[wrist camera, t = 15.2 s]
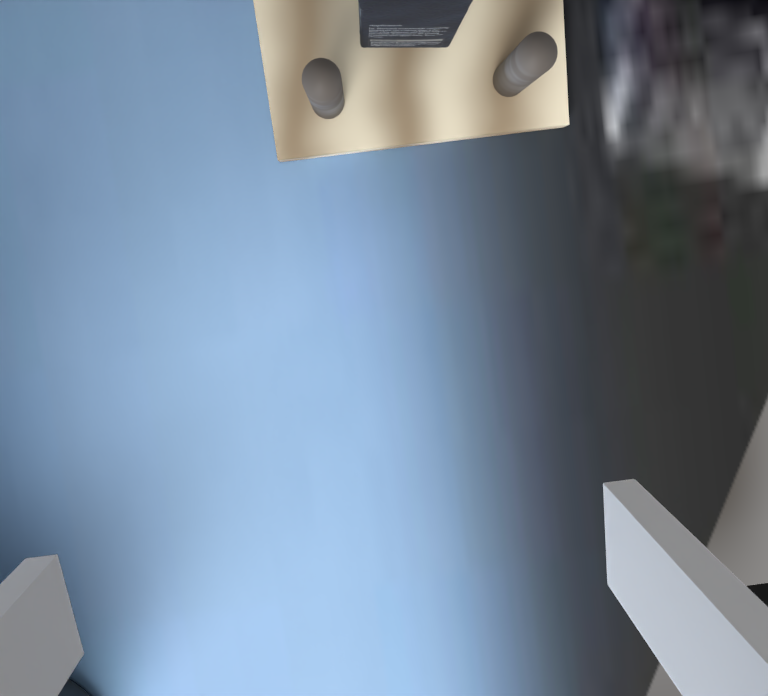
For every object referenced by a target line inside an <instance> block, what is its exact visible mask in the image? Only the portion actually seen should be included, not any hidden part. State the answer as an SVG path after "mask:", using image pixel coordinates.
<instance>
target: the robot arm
mask: <svg viewBox="0 0 768 696" xmlns="http://www.w3.org/2000/svg"><path fill="white" fill-rule="evenodd" d="M603 494H604V516H605V539H606V561H607V584H608V586H609V587H610V589H611V590H612V592H613V593H614V595H615V596H616V598H617V599H618V601H619V602H620V604H621V605H622V607H623V608H624V610H625V611H626V613H627V614H628V616H629V617H630V619H631V620H632V622H633V623H634V624H635V626H636V627H637V629H638V630H639V632H640V633H641V635H642V636H643V638H644V639H645V641H646V642H647V644H648V645H649V647H650V648H651V650H652V651H653V653H654V654H655V656H656V657H657V659H658V660H659V662H660V663H661V665H662V666H663V668H664V669H665V671H666V672H667V673H668V675H669V677H670V678H671V680H672V681H673V683H674V684H675V685H676V687H677V689H678V690H679V691H680V693H681V694H682V696H768V583H765V584H758V585H750V586H746V585H744V583H742V582H741V581H740V580H739V579H738V578H737V577H736V576H735V575H734V574H733V573H732V572H731V571H730V570H729V569H728V568H727V567H726V566H725V565H724V564H723V563H722V562H721V561H719V560H718V559H717V558H716V557H715V556H714V555H713V554H712V553H711V552H710V551H709V550H708V549H707V548H706V547H705V546H704V545H703V544H702V543H701V542H700V541H699V540H698V539H697V538H696V537H695V536H693V535H692V534H691V533H690V532H689V531H688V530H687V529H686V528H685V527H684V526H683V525H682V524H681V523H680V522H679V521H678V520H677V519H676V518H675V517H674V516H673V515H672V514H671V513H669V512H668V511H667V510H666V509H665V508H664V507H663V506H662V505H661V504H660V503H659V502H658V501H657V500H656V499H655V498H654V497H653V496H652V495H651V494H650V493H649V492H648V491H647V490H646V489H644V488H643V487H642V486H641V485H640V484H639V483H638V482H637V481H636V480H635V479H630V480H623V481H615V482H607V483H603ZM83 655H84V651H83V647H82V644H81V640H80V636H79V632H78V629H77V625H76V621H75V617H74V614H73V610H72V606H71V603H70V599H69V595H68V591H67V588H66V584H65V580H64V576H63V573H62V569H61V565H60V562H59V558H58V554H56V555H48V556H40V557H33V558H25V559H24V560H23V561H22V562H21V563H20V564H19V565H18V566H17V567H16V569H15V570H14V571H13V572H12V573H11V574H10V575H9V576H8V577H7V578H6V579H5V580H4V581H3V582H2V583H1V584H0V696H90V695H89V694H88V693H87V692H86V691H84V690H83V689H82V688H81V687H80V686H78V685H77V684H76V683H74V682H73V681H71V680H70V679H69V677H70V675H71V674H72V672H73V671H74V669H75V667H76V666H77V664H78V663H79V661H80V660H81V658H82V656H83Z"/></svg>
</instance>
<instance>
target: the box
mask: <svg viewBox="0 0 768 696" xmlns="http://www.w3.org/2000/svg"><path fill="white" fill-rule="evenodd" d="M472 1H473V0H358V4H359V25H360V31H359V33H360V45H361V47H363V48H367V47H368V48H420V47H422V48H446V47H448V46H449V45H450V44H451V42H452V40H453V38H454V36H455V34H456V32H457V30H458V28H459V26H460V24H461V22H462V20H463V18H464V16H465V15H466V13H467V11H468V8H469V6H470V5H471V3H472Z"/></svg>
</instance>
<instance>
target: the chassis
mask: <svg viewBox="0 0 768 696" xmlns="http://www.w3.org/2000/svg"><path fill="white" fill-rule="evenodd" d="M253 2H254V9H255V15H256V22H257V28H258V35H259V41H260V48H261V54H262V61H263V67H264V74H265V80H266V87H267V93H268V100H269V106H270V113H271V119H272V126H273V132H274V139H275V145H276V152H277V158H278V161H279V162H286V161H294V160H302V159H310V158H318V157H326V156H335V155H343V154H351V153H359V152H367V151H375V150H383V149H391V148H399V147H408V146H416V145H424V144H432V143H440V142H448V141H456V140H464V139H472V138H481V137H489V136H497V135H505V134H513V133H521V132H529V131H537V130H545V129H554V128H562V127H565V126H567V125H569V110H568V90H567V70H566V50H565V31H564V11H563V0H473V1H472V3H471V5H470V6H469V8H468V11H467V13H466V15H465V16H464V18H463V20H462V22H461V24H460V26H459V28H458V30H457V32H456V34H455V36H454V38H453V40H452V42H451V44H450V45H449V46H448V47H446V48H422V47H420V48H368V47H367V48H363V47H361V45H360V33H359V31H360V25H359V4H358V0H253Z"/></svg>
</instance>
